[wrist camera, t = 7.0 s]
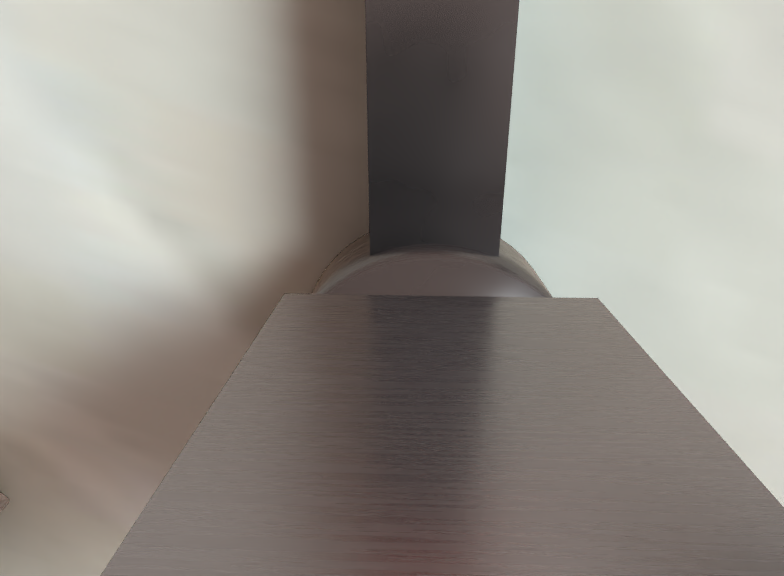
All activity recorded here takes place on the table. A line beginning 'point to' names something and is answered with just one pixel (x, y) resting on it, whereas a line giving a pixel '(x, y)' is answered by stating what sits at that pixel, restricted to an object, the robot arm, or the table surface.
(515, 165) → the table surface
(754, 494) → the grey cubic block
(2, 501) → the ink cartridge box
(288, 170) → the table surface
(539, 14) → the table surface
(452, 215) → the ratchet
